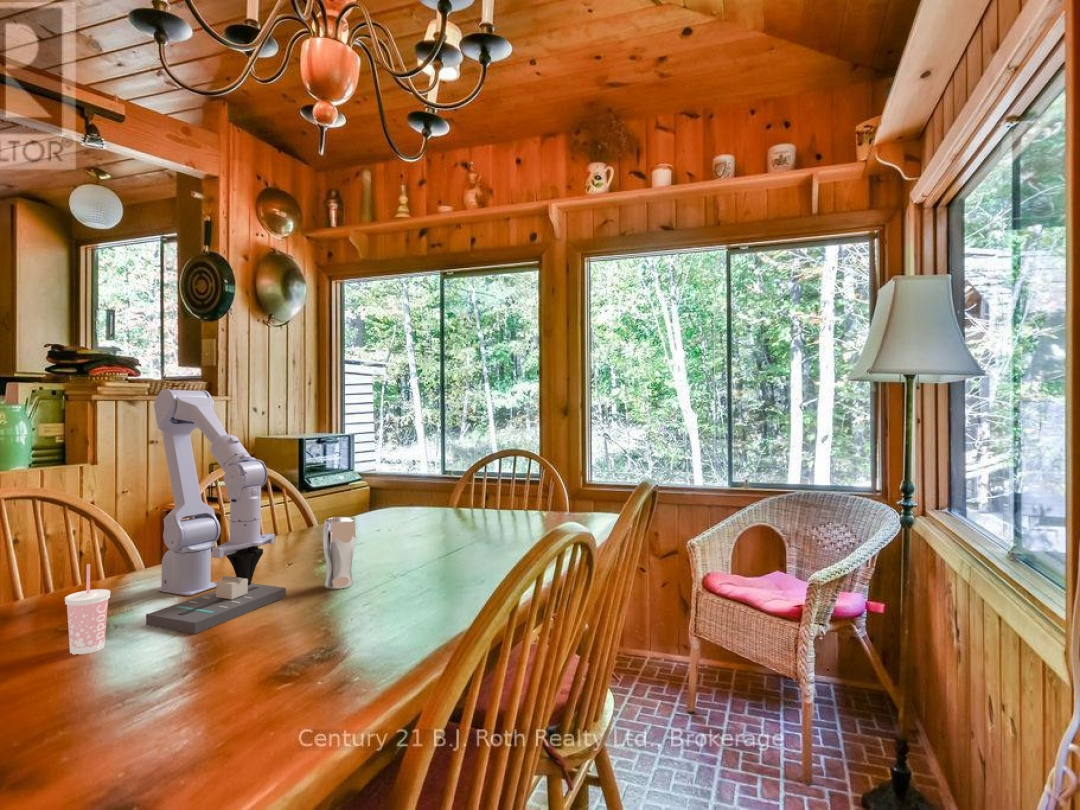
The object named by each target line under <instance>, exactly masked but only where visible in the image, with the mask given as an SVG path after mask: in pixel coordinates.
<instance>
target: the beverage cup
mask: <svg viewBox="0 0 1080 810" xmlns="http://www.w3.org/2000/svg"><path fill="white" fill-rule="evenodd" d="M85 589H86V590H82V591H78V592H73V593H71V594H68V595H67V596H65V597H64V602H65V603H64V605H66V613H67V623H68V624H67V625H68V626H67V627H68V640H69V641H68V643H69V654H71V653H72V654H71V655H76V654H79V655H86V654H91V653H95V652H97V651H100V650H102V649H103V648H105V643H106V642H105V641H106V632H107V631H106V630H107V617H108V603H109V599H110V598H111V590H110V589H104V588H98V589H91V564H90V563H88V564H86V588H85Z"/></svg>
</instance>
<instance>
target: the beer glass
mask: <svg viewBox="0 0 1080 810" xmlns="http://www.w3.org/2000/svg"><path fill="white" fill-rule="evenodd" d="M356 536H357V533H356V520H355V517H352V516H334V517H333V516H332V517H328V518H326V519H325V518H324V525H323V538H322V541H323V544H322V545H323V552H324V558H325V564H326V576H325V582H324V588H326V589H328V588H329V590H344V589H348V588H350V586H351V587H352V586H353V585H354V580H353V575H352V566H353V565H352V564H353V560H354V559H353V558H354V555H355V549H356V547H355V546H356V540H357V539H356ZM343 588H344V589H343Z"/></svg>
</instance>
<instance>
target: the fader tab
mask: <svg viewBox="0 0 1080 810" xmlns="http://www.w3.org/2000/svg"><path fill="white" fill-rule="evenodd" d="M215 583H216V587H215V591H216V597H219V598H226V599H234V598H237V597H239V596H242V595H245V594H248V579H246V578H238V577H236V576H231V575H230V576H229V575H224V576H222V578H221V580H218V581H216V582H215Z"/></svg>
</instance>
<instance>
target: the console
mask: <svg viewBox="0 0 1080 810" xmlns="http://www.w3.org/2000/svg"><path fill="white" fill-rule="evenodd" d="M284 597H285V598H287V587H284V586H283V587H282V586H275V585H268V584H267V585H266V584H262V583H252V582H251V585H248V594H245V595H242V596H239V597H237V598H234V599H226V598H219V597H216V590H213V591H211V592H209V593H205V594H202V595H200V596H197V597H193V598H191V599H188V600H185V601H182V602H178V603H175V604H173V605H171V606H170V605H169V606H167V607H163V608H161V609H158V610H155V611H153V612H150V613H147V614H145V616H146V617H145V626H147V625H149V626H148V627H154V628H158V627H160V628H159V629H165V630H169V629H170V631H177V632H180V631H181V632H180V633H187V634H192V635H197V634H199V633H201V631H202V632H204V631H207V630H209V629H211V628H210V627H212V628H214V627H216V626H215V625H217V626H218V624H219V625H221V624H224V623H226V622H229V621H231V620H233V618H234V619H236V618H238V616H239V617H241V616H244V615H246V614H248V613H250V611H251V612H253V611H255V609H256V610H258V609H261V608H263V607H265V605H266V606H267V604H268V605H270V603H271V604H273V603H275V602H274V601H276V602H278V601H280V600H283V599H285V598H284ZM282 598H283V599H282ZM279 599H280V600H279ZM277 600H278V601H277ZM272 602H273V603H272ZM262 606H263V607H262ZM260 607H261V608H260ZM245 613H246V614H245ZM243 614H244V615H243ZM235 617H236V618H235ZM230 619H231V620H230ZM228 620H229V621H228ZM225 621H226V622H225ZM223 622H224V623H223ZM220 623H221V624H220ZM213 626H214V627H213ZM208 628H209V629H208ZM206 629H207V630H206ZM203 630H204V631H203ZM198 632H199V633H198ZM196 633H197V634H196Z"/></svg>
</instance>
